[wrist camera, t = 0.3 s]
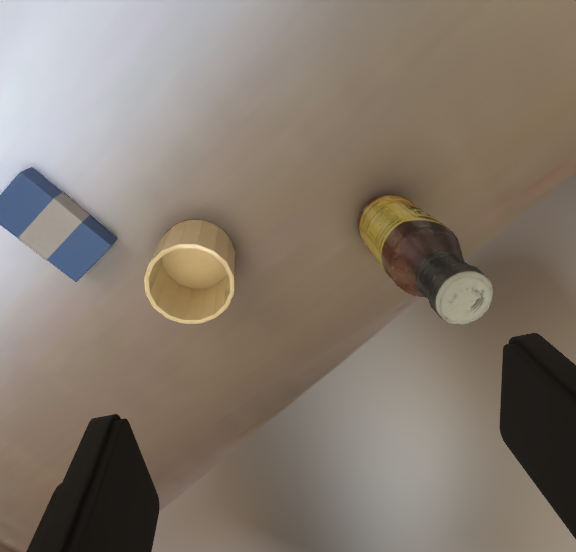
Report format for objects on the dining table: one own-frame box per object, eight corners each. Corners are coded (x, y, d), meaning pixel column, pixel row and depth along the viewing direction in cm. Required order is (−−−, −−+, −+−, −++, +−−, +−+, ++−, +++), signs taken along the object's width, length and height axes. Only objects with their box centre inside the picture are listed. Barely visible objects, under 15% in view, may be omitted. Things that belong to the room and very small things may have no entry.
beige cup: (142, 255, 47) (125, 286, 40) (194, 203, 45) (186, 226, 38) (199, 303, 50) (192, 338, 43) (250, 255, 48) (252, 285, 41)
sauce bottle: (421, 226, 49) (529, 313, 30) (372, 258, 50) (448, 361, 31) (393, 177, 46) (492, 240, 28) (342, 211, 47) (406, 294, 29)
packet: (-3, 206, 43) (-16, 213, 41) (32, 166, 42) (20, 171, 40) (83, 273, 47) (75, 282, 45) (118, 237, 46) (111, 245, 44)
